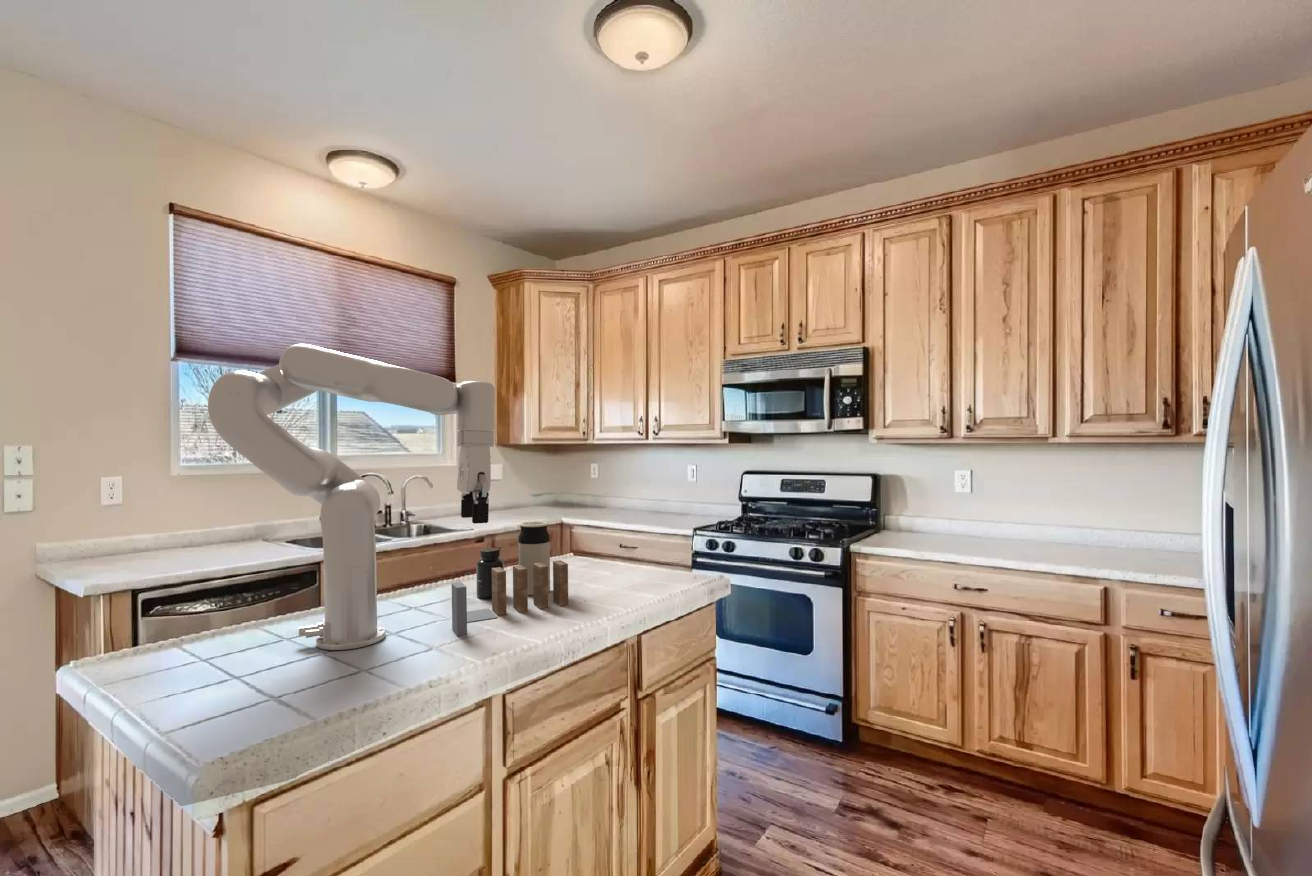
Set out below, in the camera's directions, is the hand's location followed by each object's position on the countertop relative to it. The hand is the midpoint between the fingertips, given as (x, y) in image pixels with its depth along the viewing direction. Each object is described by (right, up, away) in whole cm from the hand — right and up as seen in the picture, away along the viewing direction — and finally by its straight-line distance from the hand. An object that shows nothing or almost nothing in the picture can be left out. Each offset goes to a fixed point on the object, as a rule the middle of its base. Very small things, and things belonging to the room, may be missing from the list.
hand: (474, 520), depth 133 cm
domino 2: (+2, -23, +12) cm, 26 cm away
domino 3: (+7, -23, +14) cm, 28 cm away
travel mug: (+7, -23, +30) cm, 39 cm away
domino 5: (+16, -23, +19) cm, 33 cm away
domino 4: (+11, -23, +16) cm, 30 cm away
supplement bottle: (-4, -23, +27) cm, 35 cm away
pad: (-2, -23, +9) cm, 25 cm away
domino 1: (-2, -23, -2) cm, 23 cm away
